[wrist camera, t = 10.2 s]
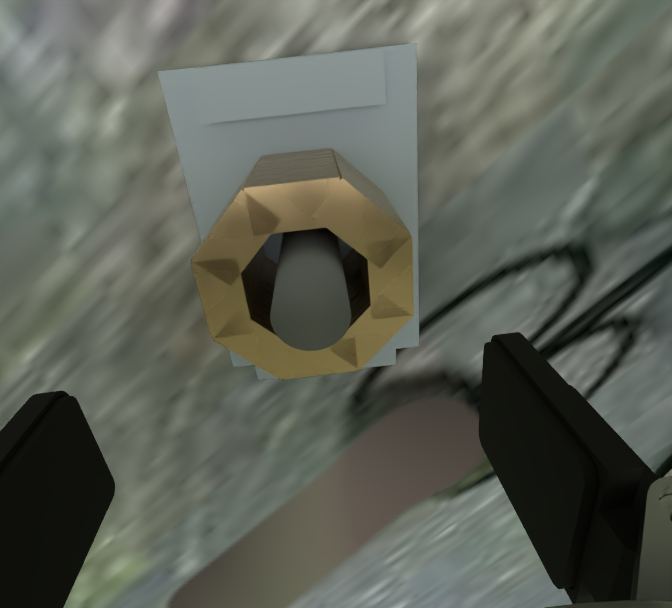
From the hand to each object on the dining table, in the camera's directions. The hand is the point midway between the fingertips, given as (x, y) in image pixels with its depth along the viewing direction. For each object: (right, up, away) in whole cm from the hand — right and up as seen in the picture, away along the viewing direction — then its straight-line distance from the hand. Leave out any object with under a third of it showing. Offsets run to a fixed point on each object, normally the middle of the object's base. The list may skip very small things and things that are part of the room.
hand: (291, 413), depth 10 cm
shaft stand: (0, +7, +11) cm, 13 cm away
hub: (0, +6, +10) cm, 11 cm away
